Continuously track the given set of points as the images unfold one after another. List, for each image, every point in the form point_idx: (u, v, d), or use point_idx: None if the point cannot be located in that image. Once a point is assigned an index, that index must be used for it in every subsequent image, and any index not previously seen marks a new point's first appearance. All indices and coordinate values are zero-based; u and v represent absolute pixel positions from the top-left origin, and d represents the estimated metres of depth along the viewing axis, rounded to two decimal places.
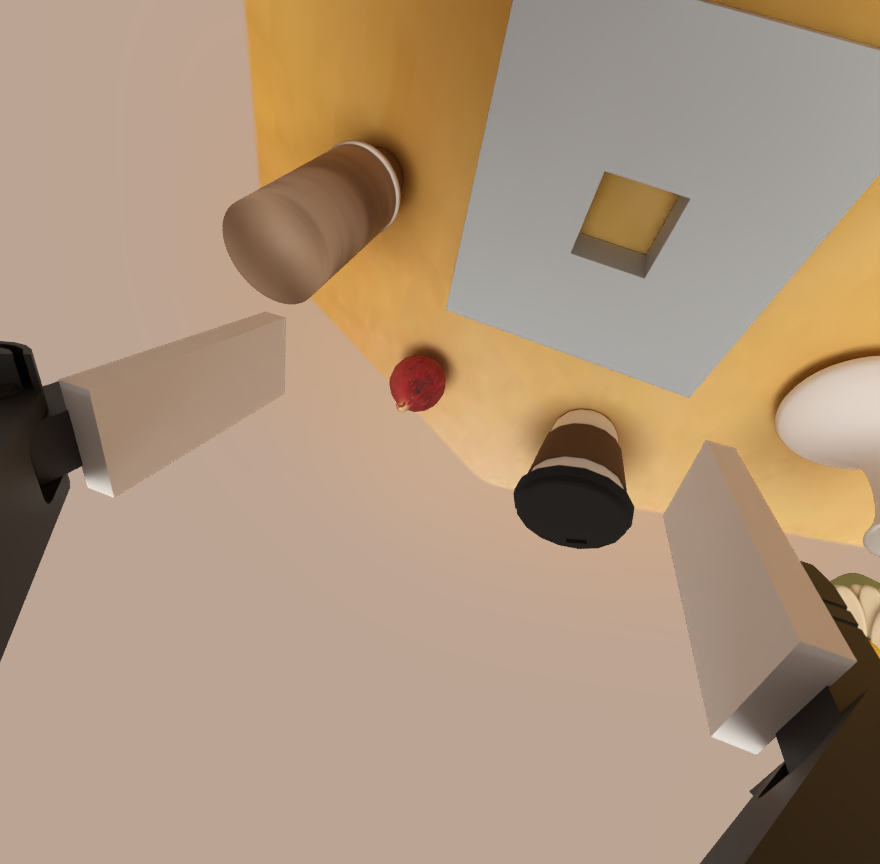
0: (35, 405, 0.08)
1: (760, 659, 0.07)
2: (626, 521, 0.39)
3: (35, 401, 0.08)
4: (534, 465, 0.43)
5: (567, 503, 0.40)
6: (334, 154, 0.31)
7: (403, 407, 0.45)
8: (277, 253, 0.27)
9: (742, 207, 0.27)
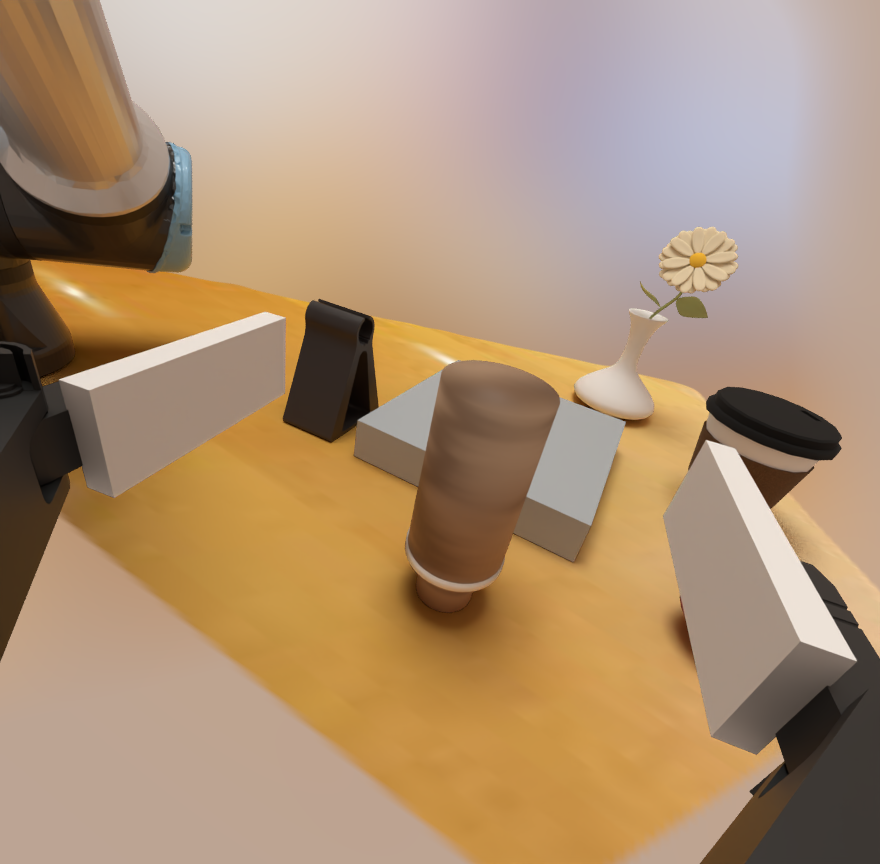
0: (35, 405, 0.08)
1: (760, 659, 0.07)
2: (742, 388, 0.45)
3: (35, 401, 0.08)
4: (748, 459, 0.39)
5: (756, 407, 0.40)
6: None
7: None
8: (498, 380, 0.24)
9: None
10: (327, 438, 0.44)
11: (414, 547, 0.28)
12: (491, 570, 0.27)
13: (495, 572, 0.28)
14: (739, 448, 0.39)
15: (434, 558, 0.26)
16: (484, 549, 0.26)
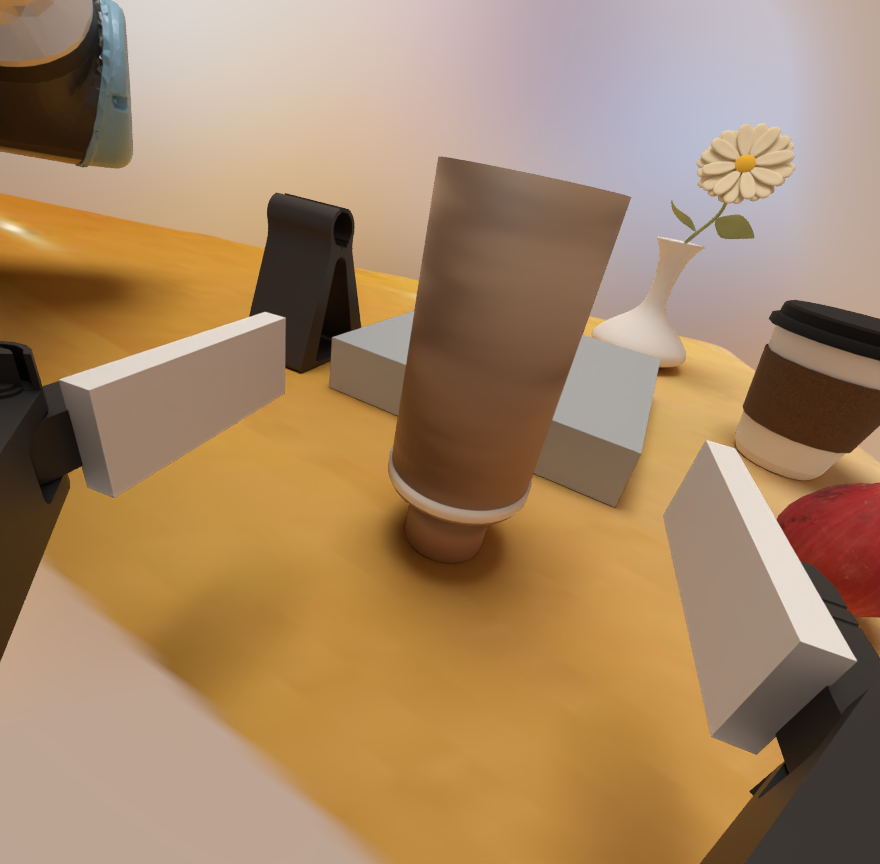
0: (35, 405, 0.08)
1: (760, 659, 0.07)
2: (811, 303, 0.36)
3: (35, 401, 0.08)
4: (834, 378, 0.30)
5: (839, 315, 0.32)
6: None
7: None
8: None
9: None
10: (296, 367, 0.35)
11: (400, 460, 0.19)
12: (514, 491, 0.18)
13: (519, 497, 0.19)
14: (821, 365, 0.31)
15: (430, 470, 0.17)
16: (506, 451, 0.17)
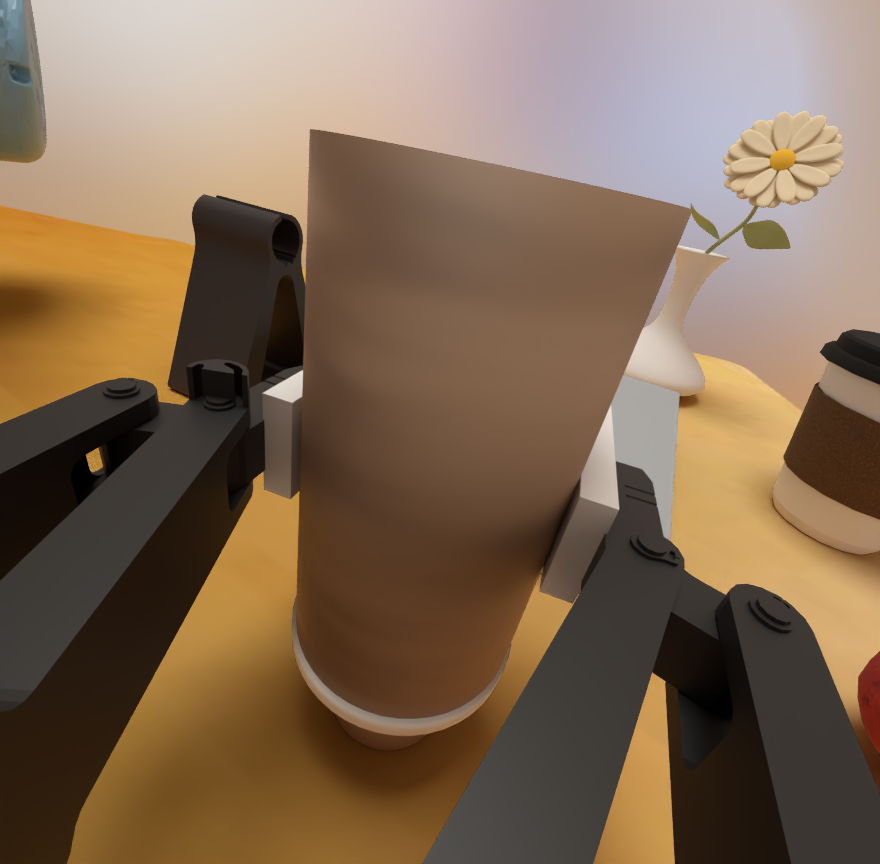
0: (240, 421, 0.09)
1: (566, 522, 0.09)
2: (872, 332, 0.29)
3: (241, 418, 0.09)
4: None
5: None
6: None
7: None
8: None
9: None
10: None
11: (300, 624, 0.12)
12: (481, 681, 0.11)
13: (491, 680, 0.12)
14: None
15: (337, 661, 0.10)
16: (460, 645, 0.10)
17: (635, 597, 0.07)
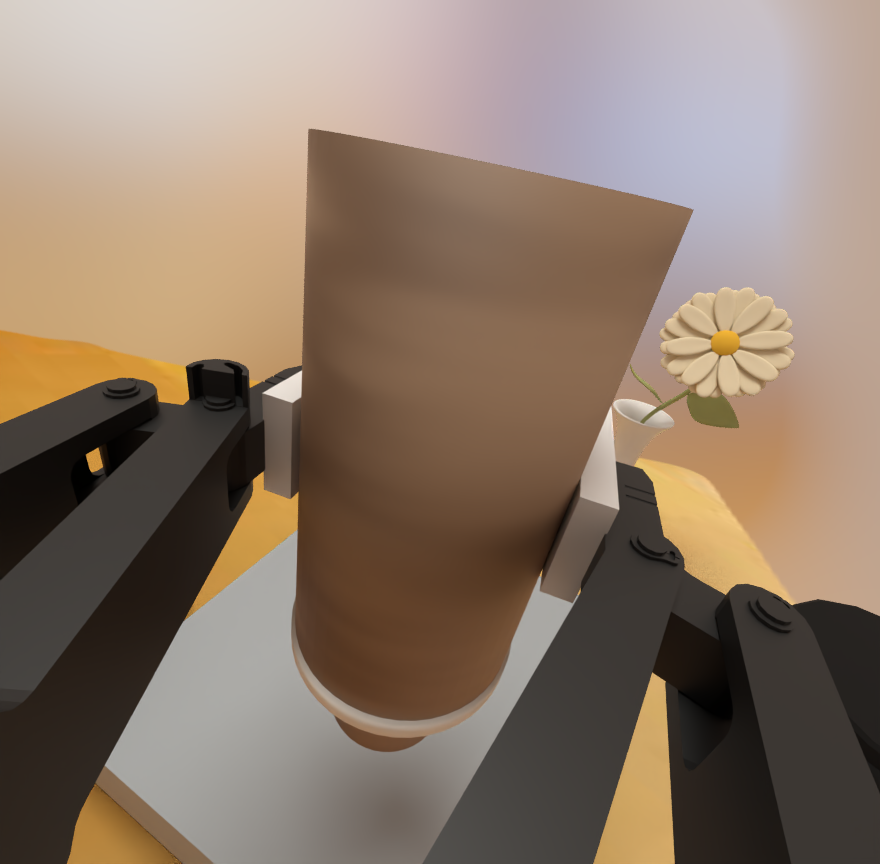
0: (240, 421, 0.09)
1: (566, 522, 0.09)
2: (823, 600, 0.24)
3: (241, 418, 0.09)
4: None
5: (871, 686, 0.20)
6: None
7: None
8: None
9: None
10: None
11: (299, 626, 0.12)
12: (480, 683, 0.11)
13: (490, 682, 0.12)
14: None
15: (336, 662, 0.10)
16: (460, 646, 0.10)
17: (635, 597, 0.07)
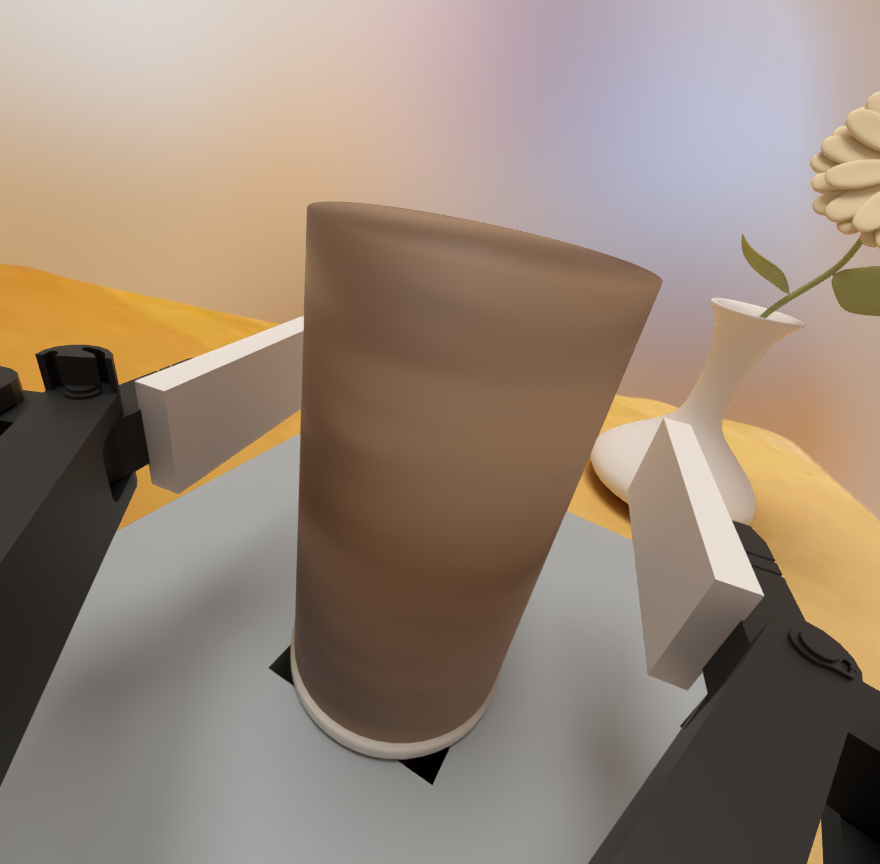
0: (111, 407, 0.09)
1: (687, 601, 0.08)
2: None
3: (112, 403, 0.09)
4: None
5: None
6: None
7: None
8: (480, 232, 0.09)
9: None
10: None
11: (298, 651, 0.12)
12: (471, 707, 0.12)
13: (481, 704, 0.12)
14: None
15: (333, 689, 0.11)
16: (450, 675, 0.10)
17: (797, 710, 0.06)
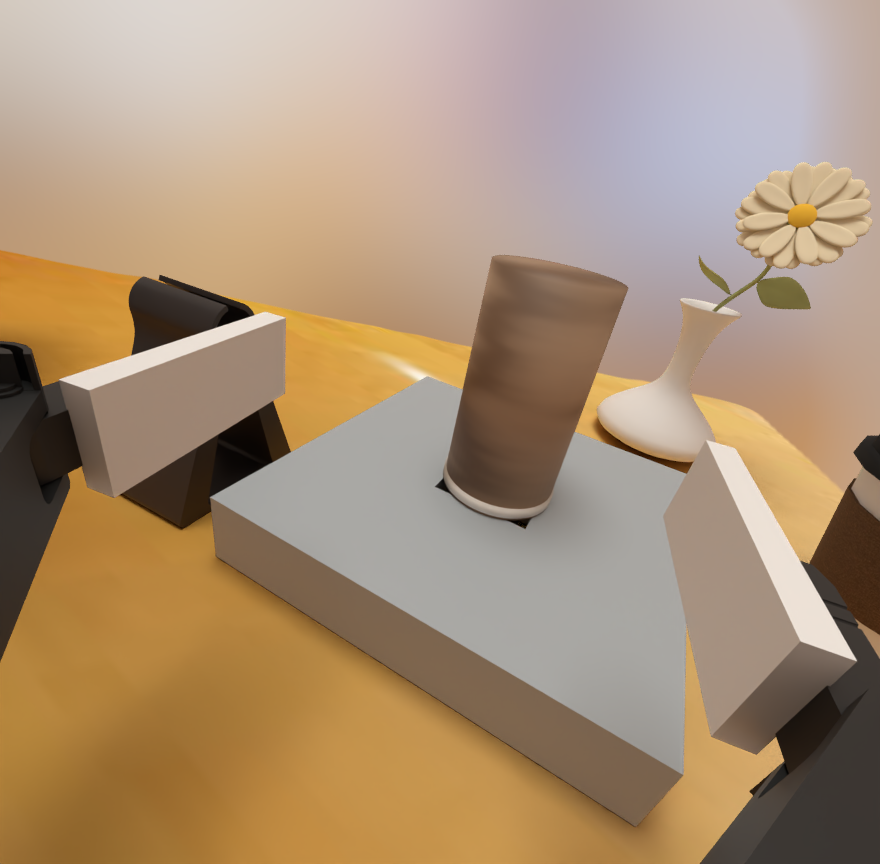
0: (35, 405, 0.08)
1: (760, 659, 0.07)
2: None
3: (35, 401, 0.08)
4: None
5: None
6: None
7: None
8: (554, 268, 0.22)
9: None
10: (175, 521, 0.25)
11: (456, 471, 0.25)
12: (542, 494, 0.24)
13: (546, 499, 0.25)
14: None
15: (480, 478, 0.24)
16: (538, 465, 0.23)
17: None
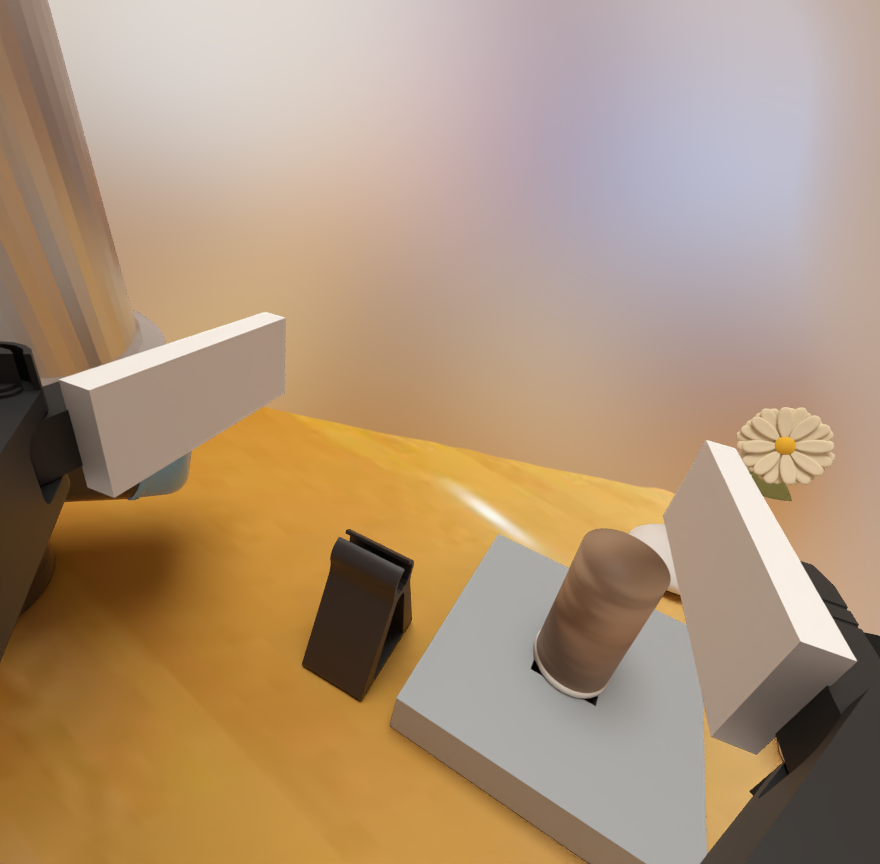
0: (35, 405, 0.08)
1: (760, 659, 0.07)
2: None
3: (35, 401, 0.08)
4: None
5: None
6: (546, 621, 0.38)
7: None
8: (621, 552, 0.33)
9: (552, 597, 0.45)
10: (356, 697, 0.37)
11: (547, 663, 0.37)
12: (607, 681, 0.36)
13: (608, 681, 0.37)
14: None
15: (567, 675, 0.35)
16: (607, 671, 0.35)
17: None
